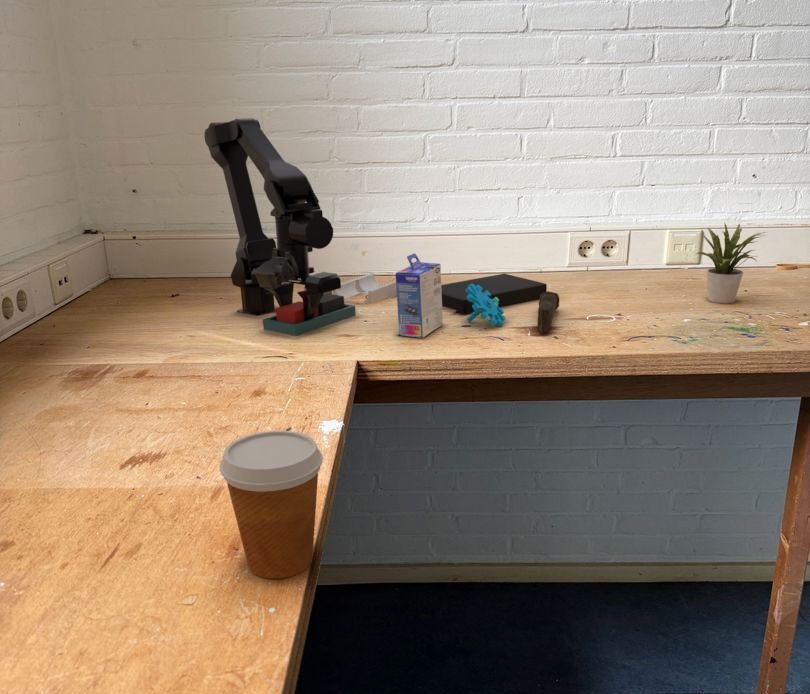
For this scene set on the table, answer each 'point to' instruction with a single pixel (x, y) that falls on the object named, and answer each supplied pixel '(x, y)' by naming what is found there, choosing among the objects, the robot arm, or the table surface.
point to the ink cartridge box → (419, 298)
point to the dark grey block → (330, 303)
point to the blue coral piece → (484, 305)
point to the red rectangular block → (292, 313)
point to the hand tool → (547, 310)
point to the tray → (309, 322)
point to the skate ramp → (366, 288)
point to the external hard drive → (492, 291)
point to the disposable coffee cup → (274, 499)
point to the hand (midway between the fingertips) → (298, 322)
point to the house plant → (726, 266)
